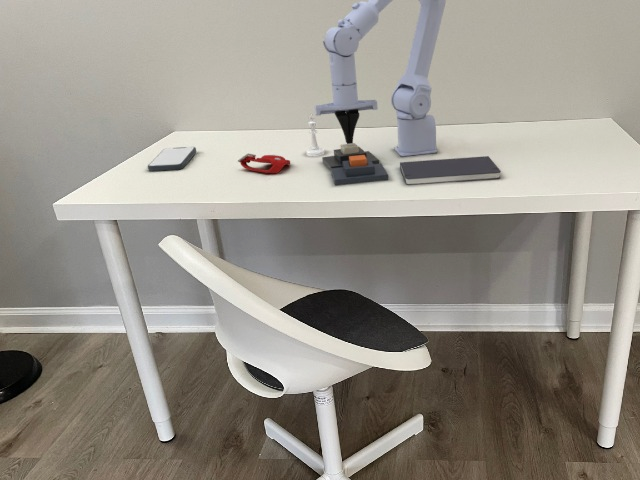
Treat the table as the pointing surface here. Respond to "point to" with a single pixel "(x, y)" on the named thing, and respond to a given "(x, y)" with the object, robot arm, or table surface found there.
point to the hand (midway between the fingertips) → (349, 142)
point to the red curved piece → (272, 159)
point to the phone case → (172, 159)
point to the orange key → (357, 160)
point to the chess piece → (314, 140)
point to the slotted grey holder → (358, 173)
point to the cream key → (349, 148)
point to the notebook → (449, 170)
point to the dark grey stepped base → (345, 158)
